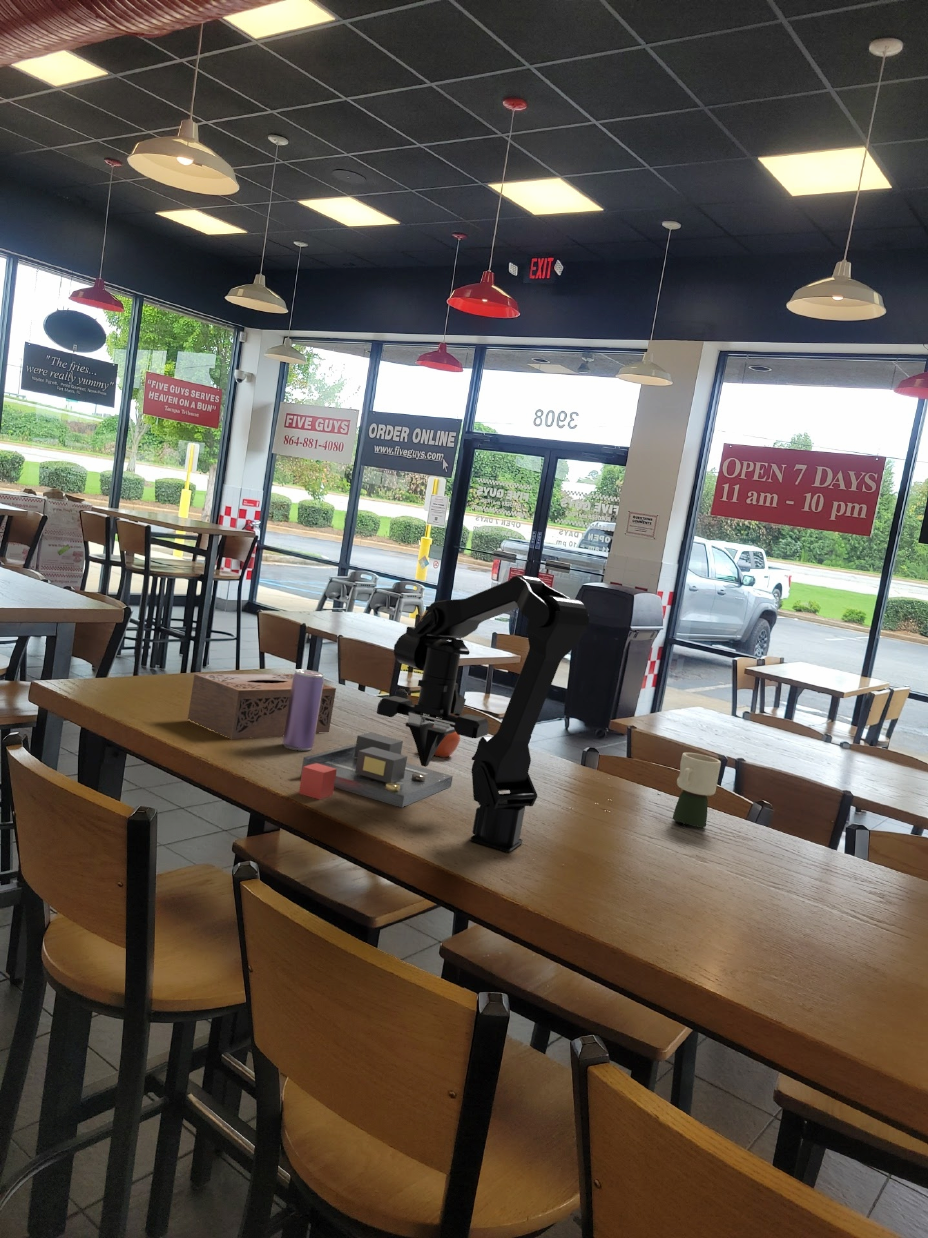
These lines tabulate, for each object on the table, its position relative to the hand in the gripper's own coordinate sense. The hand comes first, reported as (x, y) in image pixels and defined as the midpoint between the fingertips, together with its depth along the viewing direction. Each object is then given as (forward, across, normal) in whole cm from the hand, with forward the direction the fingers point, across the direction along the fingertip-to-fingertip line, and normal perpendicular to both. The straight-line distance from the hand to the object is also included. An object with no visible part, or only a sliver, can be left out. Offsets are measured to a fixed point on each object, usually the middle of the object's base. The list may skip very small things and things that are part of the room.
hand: (424, 766), depth 152 cm
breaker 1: (+4, +14, -10) cm, 18 cm away
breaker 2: (+4, +8, 0) cm, 9 cm away
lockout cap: (+6, +13, +12) cm, 19 cm away
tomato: (+6, +12, -35) cm, 38 cm away
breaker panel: (+6, +10, -4) cm, 12 cm away
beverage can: (+6, +32, -11) cm, 35 cm away
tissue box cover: (+6, +46, -18) cm, 50 cm away
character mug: (+6, -41, -33) cm, 53 cm away
